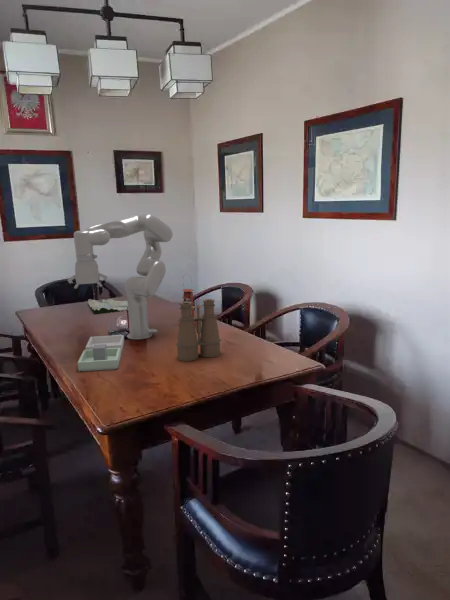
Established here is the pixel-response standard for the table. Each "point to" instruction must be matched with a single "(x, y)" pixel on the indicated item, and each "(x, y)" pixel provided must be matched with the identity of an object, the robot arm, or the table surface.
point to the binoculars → (208, 330)
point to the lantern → (189, 295)
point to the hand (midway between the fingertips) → (89, 295)
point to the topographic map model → (106, 306)
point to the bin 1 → (106, 341)
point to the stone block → (100, 352)
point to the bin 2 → (89, 364)
